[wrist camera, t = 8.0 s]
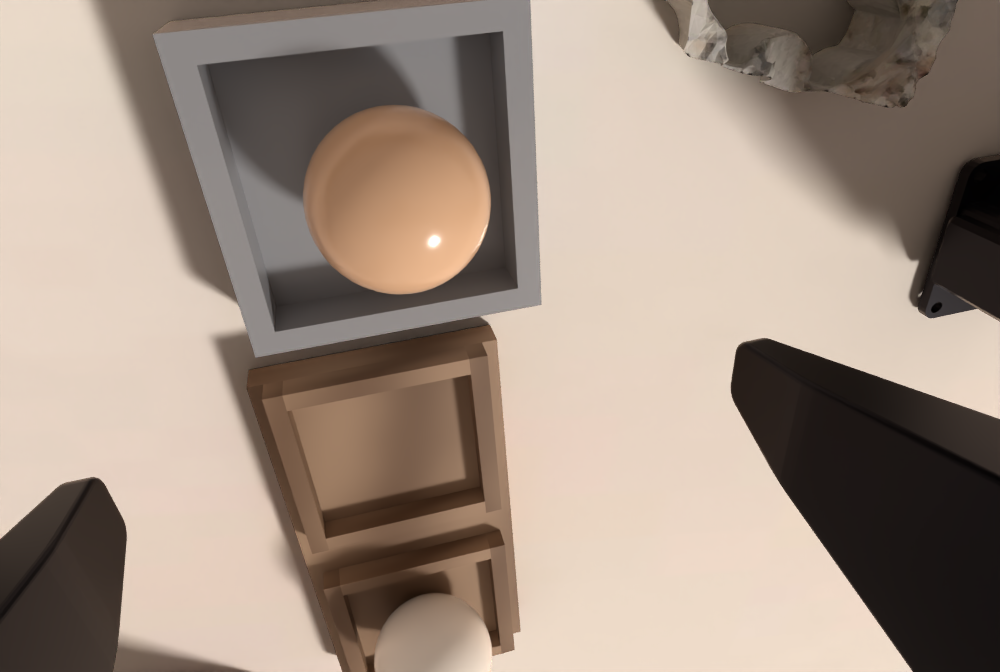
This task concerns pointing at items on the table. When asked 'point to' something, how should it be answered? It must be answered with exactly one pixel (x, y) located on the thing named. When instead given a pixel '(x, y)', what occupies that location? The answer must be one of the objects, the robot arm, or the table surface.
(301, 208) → the dish
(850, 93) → the egg carton
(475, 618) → the white smooth ball
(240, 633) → the table surface
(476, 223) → the egg brown
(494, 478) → the rack
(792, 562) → the table surface
